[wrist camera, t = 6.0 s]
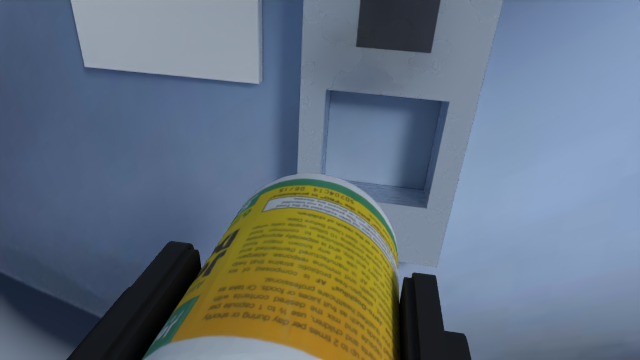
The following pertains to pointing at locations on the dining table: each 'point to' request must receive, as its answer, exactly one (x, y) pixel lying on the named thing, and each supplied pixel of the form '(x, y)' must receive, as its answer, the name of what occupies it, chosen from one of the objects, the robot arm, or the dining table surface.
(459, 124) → the grey board with squares
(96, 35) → the plate
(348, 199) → the supplement bottle
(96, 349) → the robot arm
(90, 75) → the dining table surface
